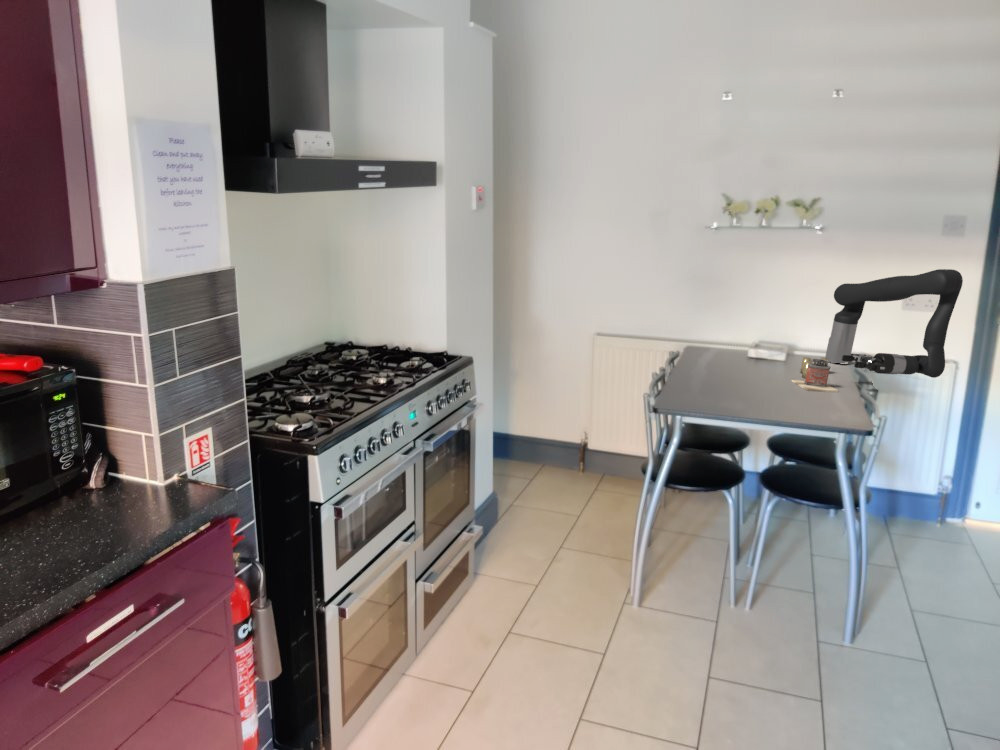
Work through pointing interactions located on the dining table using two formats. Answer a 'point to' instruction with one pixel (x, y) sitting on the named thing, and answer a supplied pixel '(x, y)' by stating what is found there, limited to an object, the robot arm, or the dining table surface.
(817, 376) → the lighter
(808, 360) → the spacer posts
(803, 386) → the pad
